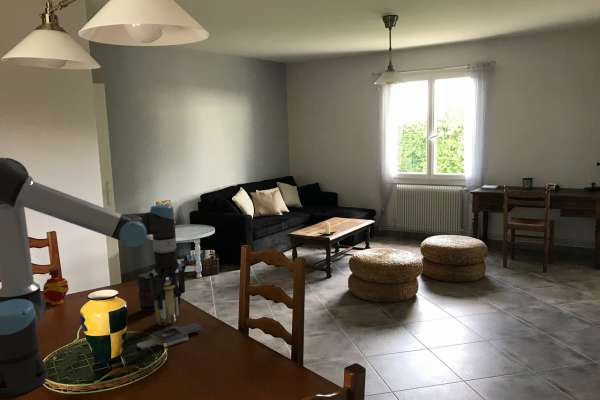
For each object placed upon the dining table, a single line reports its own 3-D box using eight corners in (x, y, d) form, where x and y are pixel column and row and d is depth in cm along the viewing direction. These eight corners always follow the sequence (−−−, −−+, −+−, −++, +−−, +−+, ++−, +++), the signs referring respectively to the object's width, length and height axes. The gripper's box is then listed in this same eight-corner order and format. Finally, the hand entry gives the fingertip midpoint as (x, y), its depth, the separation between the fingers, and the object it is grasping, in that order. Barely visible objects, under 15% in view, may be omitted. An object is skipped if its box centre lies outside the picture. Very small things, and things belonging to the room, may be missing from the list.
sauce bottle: (175, 320, 180) (172, 270, 178) (169, 326, 174) (166, 275, 171) (159, 320, 181) (156, 270, 178) (152, 326, 175) (149, 275, 172)
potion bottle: (38, 307, 198) (35, 272, 196) (52, 298, 208) (49, 266, 206) (62, 306, 198) (59, 272, 196) (75, 298, 208) (72, 265, 206)
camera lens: (149, 315, 186) (147, 279, 184) (135, 312, 190) (133, 276, 188) (164, 309, 193) (162, 273, 191) (151, 305, 197) (148, 271, 195)
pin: (166, 325, 159) (163, 288, 157) (159, 320, 162) (157, 284, 161) (180, 320, 162) (178, 284, 160) (173, 316, 166) (171, 281, 164)
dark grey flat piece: (144, 353, 152) (144, 346, 152) (134, 344, 159) (134, 338, 159) (204, 334, 167) (204, 328, 166) (193, 327, 173) (192, 320, 173)
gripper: (145, 256, 151) (150, 326, 154) (193, 247, 161) (197, 312, 165) (136, 252, 156) (141, 319, 159) (183, 244, 167) (187, 306, 170)
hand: (169, 315), depth 162 cm, fingers closed on pin, 4 cm apart
